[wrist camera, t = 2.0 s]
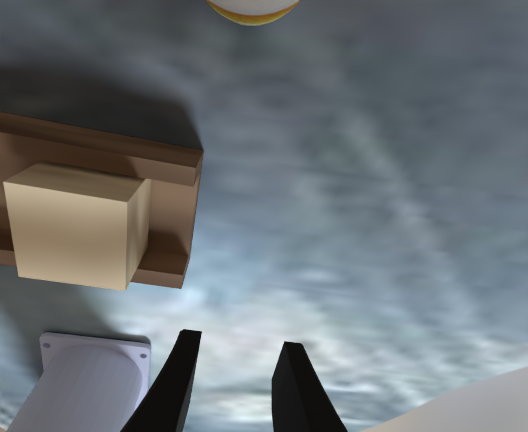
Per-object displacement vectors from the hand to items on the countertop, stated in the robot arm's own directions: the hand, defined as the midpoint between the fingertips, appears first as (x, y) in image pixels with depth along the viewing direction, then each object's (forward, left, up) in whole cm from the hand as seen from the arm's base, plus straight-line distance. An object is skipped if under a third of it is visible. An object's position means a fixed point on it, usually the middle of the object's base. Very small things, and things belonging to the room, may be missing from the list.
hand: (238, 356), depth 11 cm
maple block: (0, +8, -9) cm, 12 cm away
